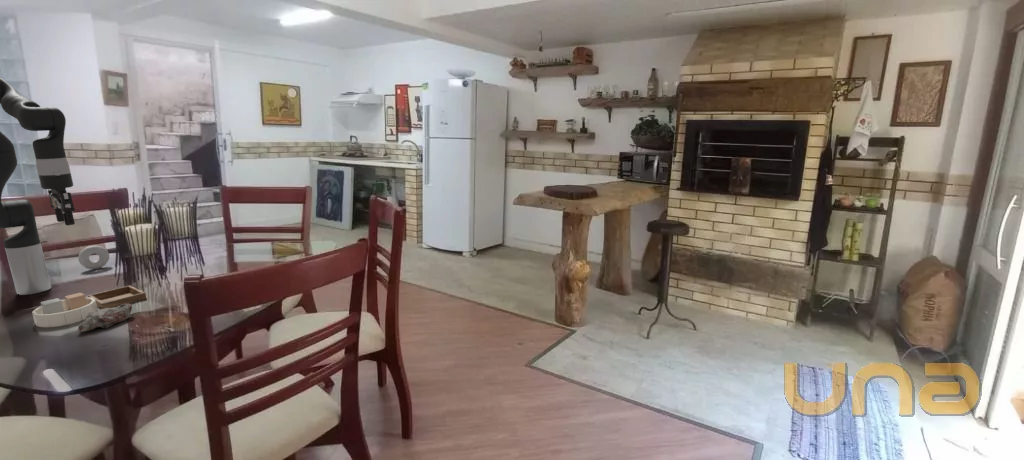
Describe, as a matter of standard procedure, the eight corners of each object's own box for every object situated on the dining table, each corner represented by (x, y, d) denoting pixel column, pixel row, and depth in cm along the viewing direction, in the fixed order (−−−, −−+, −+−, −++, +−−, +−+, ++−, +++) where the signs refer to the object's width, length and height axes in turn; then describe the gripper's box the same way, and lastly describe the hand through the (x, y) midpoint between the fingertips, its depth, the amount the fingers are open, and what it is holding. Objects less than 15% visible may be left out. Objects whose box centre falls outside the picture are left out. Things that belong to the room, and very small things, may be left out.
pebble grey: (45, 320, 151) (40, 302, 150) (62, 316, 155) (57, 298, 153) (48, 323, 149) (44, 304, 148) (65, 318, 152) (61, 300, 151)
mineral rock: (81, 337, 141) (77, 322, 140) (71, 330, 145) (68, 316, 144) (141, 319, 153) (138, 306, 152) (131, 314, 157) (128, 301, 156)
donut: (82, 272, 201) (76, 249, 198) (80, 271, 203) (74, 247, 200) (112, 266, 208) (107, 243, 206) (110, 265, 210) (105, 242, 208)
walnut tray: (89, 302, 168) (87, 295, 167) (131, 291, 177) (129, 285, 177) (103, 310, 160) (101, 303, 159) (146, 299, 169) (145, 292, 169)
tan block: (68, 314, 156) (64, 296, 155) (84, 310, 159) (80, 292, 158) (73, 316, 154) (68, 298, 152) (89, 312, 157) (85, 294, 156)
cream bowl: (30, 321, 153) (27, 308, 152) (89, 306, 164) (86, 294, 163) (43, 332, 144) (40, 318, 144) (104, 315, 156) (101, 303, 155)
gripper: (32, 172, 156) (44, 222, 159) (45, 175, 148) (57, 228, 151) (63, 170, 162) (74, 218, 165) (77, 173, 153) (88, 223, 157)
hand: (66, 223), depth 158 cm, fingers open, 8 cm apart
